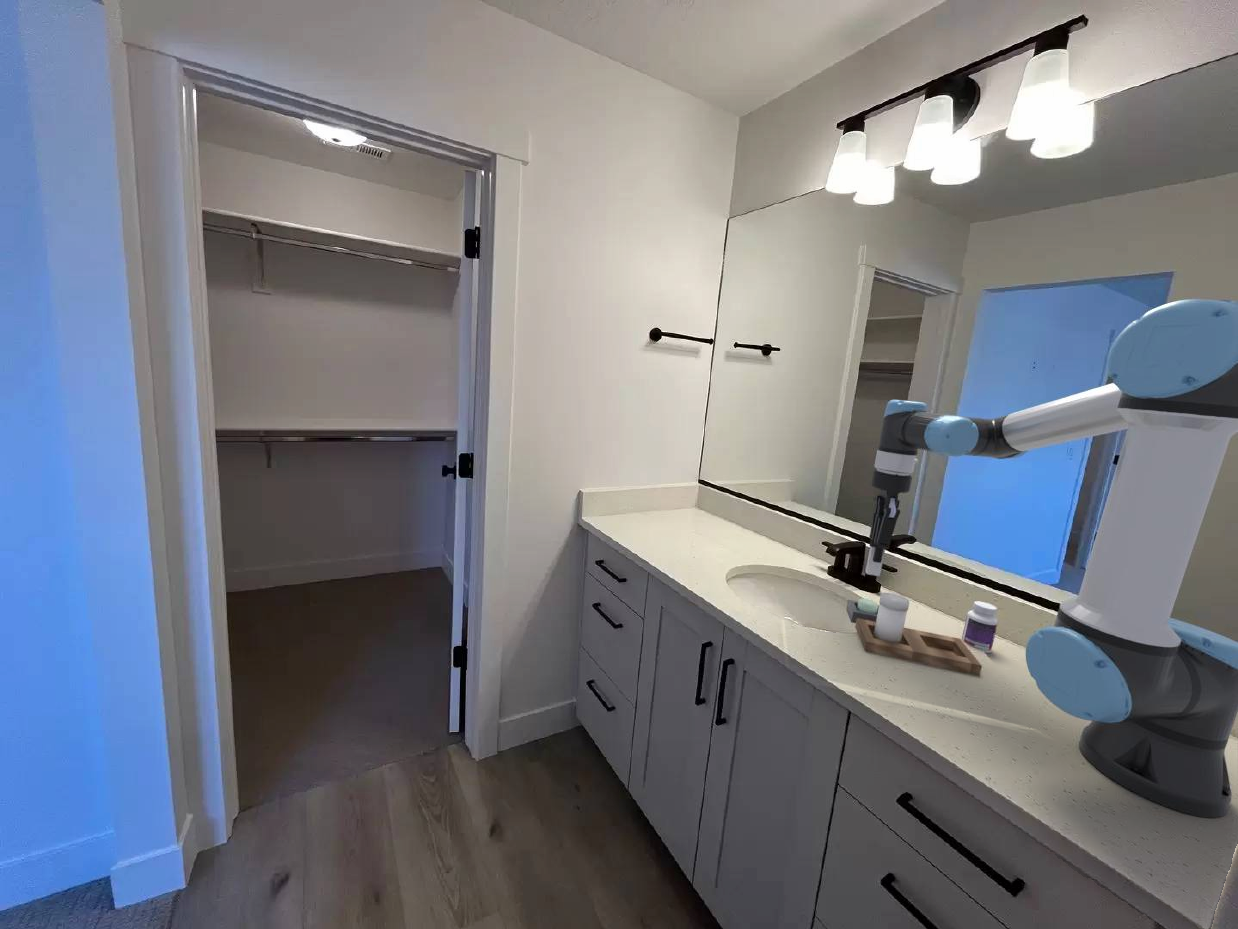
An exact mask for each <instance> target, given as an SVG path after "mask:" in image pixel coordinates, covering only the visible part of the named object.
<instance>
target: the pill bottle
mask: <svg viewBox="0 0 1238 929" xmlns="http://www.w3.org/2000/svg"><path fill="white" fill-rule="evenodd" d="M997 609H998V608H997V607H996V605H993V604H991V603H988V602H984V601H979V600H977V601H974V602H973V605H972V610H971V609H970V610H969V611H968V612H967V614H966V618H965V622H964V626H963V630H962V631H963V632H962V635H961V640H962V642H963V643H964V644H965V645H968V646H971V647H973V648H976V649H980V650H982V651H983V653H984V654H990V653H991V652H992V649H993V645H994V640H995V637H996V632H997V628H998V624H999V621H998V619H997V617H996V614H997Z"/></svg>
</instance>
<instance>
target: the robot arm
mask: <svg viewBox="0 0 1238 929" xmlns="http://www.w3.org/2000/svg"><path fill="white" fill-rule="evenodd" d="M1106 369H1107V370H1106V371H1107V373H1108V374H1107V375H1108V377H1109V378H1111V379H1112V381H1113V382H1112V383H1108V384H1105V385H1102V386H1098V387H1095V388H1092V389H1091V388H1090V389H1088V390H1085V391H1082V392H1078V393H1075V394H1071V395H1069V396H1068V395H1067V396H1066V397H1062V398H1058V399H1056V400H1052V401H1049V402H1045V403H1041V404H1037V405H1035V406H1032V407H1028V408H1025V409H1022V410H1019V411H1016V412H1012V413H1009V414H1006V415H1003V416H1000V417H999V416H998V417H994V418H983V417H971V416H961V415H952V414H941V413H931V412H927V409H928V408H927V407H928V405H927V403H925V402H922V401H921V402H920V401H909V400H902V399H891V400H890V401H888V402H887V404H886V408H885V411H884V415H883V417H882V419H883V420H882V425H881V431H880V437H879V441H878V442H879V443H878V447H877V451H876V456H875V460H874V466H873V467H874V468H876V469H874V470H873V473H872V478H871V482H870V486H872V487H873V488H874V489H876V490H877V489H878V490H879V491H878V494H876V495H875V496H874V498H873V511H872V518H871V519H872V520H871V524H870V532H869V537H868V538H869V539H870V542H869V551H868V558H867V562H866V565H865V566H866V567H865V573H866V575H868V576H869V575H870V576H875V577H881V572H882V567H883V564H884V563H883V562H884V557H885V553H886V550H887V549H888V550H889V548H890V545H891V542H892V539H893V535H894V533H895V532H894V531H895V528H896V524H897V521H898V519H899V517H900V514H901V510H900V509H899V507H900V500H899V494H907V493H910V491H911V484H912V481H913V477H912V475H911V474H913V473H914V470H915V465H917V464H918V463H919V460H918V458H917V455H918V450H922V451H926V452H931V453H934V454H937V455H940V456H948V457H962V456H971V457H983V458H991V459H992V458H993V459H998V460H1005V459H1017V458H1021V457H1023V456H1024V455H1025V454H1026V453H1028V452H1029V451H1031V450H1036V449H1040V448H1044V447H1050V446H1054V445H1059V444H1064V443H1069V442H1072V441H1073V442H1074V441H1078V440H1083V439H1086V438H1087V439H1088V438H1090V437H1091V438H1092V437H1096V436H1101V435H1106V434H1111V433H1116V432H1118V431H1119V432H1120V431H1124V430H1126V434H1125V437H1124V441H1123V444H1122V446H1121V447H1122V448H1121V451H1120V454H1119V456H1118V460H1117V464H1116V467H1115V471H1114V474H1113V478H1112V481H1111V485H1110V486H1109V487H1110V488H1109V491H1108V494H1107V498H1106V502H1105V504H1104V507H1103V511H1102V516H1101V519H1100V522H1099V526H1098V528H1097V532H1096V534H1095V535H1096V536H1095V539H1094V541H1093V545H1092V549H1091V552H1090V555H1089V559H1088V562H1087V566H1086V568H1085V572H1084V577H1083V579H1082V582H1081V586H1080V590H1079V593H1078V595H1077V596H1075V597H1072V598H1069V599H1067V600H1064V601H1061V603H1060V604H1059V608H1058V611H1057V614H1056V618H1055V620H1054V625H1050V626H1049V625H1048V626H1045V627H1044V628H1041V629H1039V630H1037V631H1035V632H1034V633H1033V634H1032V635H1031V636H1029V639H1028V641H1027V643H1026V646H1025V661H1026V666H1027V669H1028V672H1029V675H1030V677H1031V678H1033V680H1034V681H1035V684H1036V687H1037V689H1038V690H1039V691H1040V693H1042V694H1043V696H1044V697H1045V698H1046V699H1047V700H1048V701H1049V702H1050V703H1051V704H1053V706H1055V707H1056V708H1058V709H1059V710H1061V711H1063V712H1064V713H1066V714H1067V715H1070V716H1072V717H1074V718H1078V719H1081V720H1085V721H1090V723H1089V724H1088V725H1086V726H1085V727H1084V728H1083V730H1082V731H1081V735H1080V739H1079V743H1078V747H1079V750H1080V752H1081V754H1082V755H1083V757H1084V758H1085V759H1086V760H1087V761H1088V762H1089V763H1090V764H1091V765H1093V767H1094V768H1096V769H1097V770H1098V771H1100V772H1101V773H1102V774H1104V775H1105V776H1106V777H1108V778H1110V779H1111V780H1112V781H1114V782H1115V783H1117V784H1119V785H1121V786H1122V787H1124V788H1125V789H1128V790H1129V791H1132V792H1133V793H1135V794H1137V795H1139V796H1141V797H1143V798H1146V799H1147V800H1150V801H1152V802H1154V803H1157V804H1159V805H1161V806H1164V807H1167V808H1169V809H1172V810H1175V811H1178V812H1181V813H1184V814H1188V815H1192V816H1196V817H1204V818H1221V817H1223V816H1225V815H1226V814H1228V813H1227V812H1228V810H1229V807H1230V806H1231V805H1230V804H1231V802H1232V790H1231V784H1230V777H1229V772H1228V766H1227V761H1226V755H1225V752H1226V747H1227V744H1228V741H1229V740H1230V739H1229V738H1230V734H1231V732H1232V730H1233V726H1234V724H1235V721H1236V718H1237V715H1238V642H1237V641H1235V640H1233V639H1231V638H1228V637H1226V636H1224V635H1221V634H1219V633H1216V632H1214V631H1211V630H1209V629H1206V628H1203V627H1200V626H1198V625H1195V624H1191V623H1189V622H1185V621H1183V620H1182V621H1181V620H1179V619H1176V618H1172V617H1171V614H1172V612H1173V608H1174V605H1175V602H1176V600H1177V597H1178V593H1179V592H1180V589H1181V586H1182V585H1181V584H1182V582H1183V579H1184V576H1185V573H1186V570H1187V566H1188V564H1189V561H1190V559H1191V556H1192V552H1193V549H1194V546H1195V543H1196V540H1197V539H1198V534H1199V531H1200V529H1201V526H1202V523H1203V520H1204V516H1205V513H1206V511H1207V508H1208V505H1209V502H1210V499H1211V496H1212V493H1213V490H1214V487H1215V485H1216V482H1217V478H1218V475H1219V474H1220V473H1219V472H1220V469H1221V468H1222V467H1221V466H1222V464H1223V460H1224V458H1225V454H1226V452H1227V448H1228V446H1229V442H1230V440H1231V437H1233V436H1234V435H1235V434H1237V433H1238V301H1236V300H1230V299H1204V298H1203V299H1202V298H1191V299H1189V298H1188V299H1181V300H1176V301H1175V300H1174V301H1172V302H1168V303H1165V304H1162V305H1159V306H1157V307H1155V308H1153V309H1151V310H1149V311H1147V312H1145V313H1144V314H1143V315H1141V316H1140V317H1138V318H1137V319H1135V320H1133V321H1132V322H1131V323H1129V324H1128V325H1127V326H1126V327H1125V328H1124V329H1123V330H1122V331H1121V332H1120V333H1119V335H1118V336H1117V337H1116V338H1115V340H1114V342H1113V343H1112V345H1111V348H1110V350H1109V351H1108V355H1107V360H1106Z"/></svg>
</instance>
